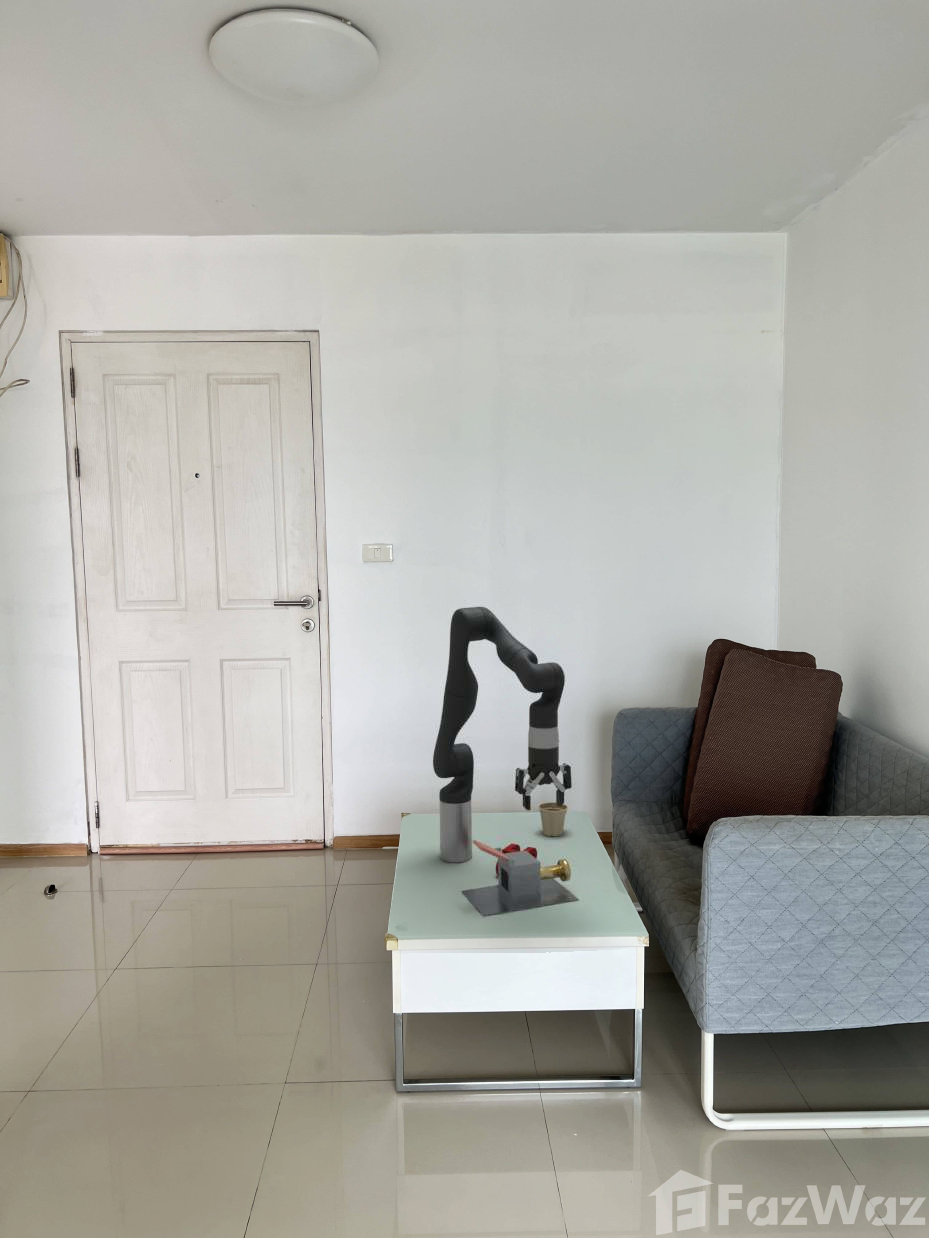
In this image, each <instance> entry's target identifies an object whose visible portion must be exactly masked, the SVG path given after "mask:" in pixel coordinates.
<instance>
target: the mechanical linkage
mask: <svg viewBox="0 0 929 1238" xmlns="http://www.w3.org/2000/svg"><path fill="white" fill-rule="evenodd" d="M520 851H521V846H520V844H516V843H510V844H508V845H506V846H505V847H504V848H503V849H502V848H501V852H502V853H503V854H506V853H513V852H520ZM522 851H527V852H528V853H530V854H531V855H532V856H533V857H535V858H536V859H537V860H538V851H537V848H536V847H532V846H527V847H526V848H524V849H523V850H522ZM495 874H496V875H497V876H498V860H497V861H496V865H495Z"/></svg>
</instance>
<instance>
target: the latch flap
mask: <svg viewBox="0 0 929 1238" xmlns="http://www.w3.org/2000/svg"><path fill="white" fill-rule="evenodd" d="M472 844H473V845H474V846H476V847H477V848H478V849H479V850H480V851H482V852H484V853H487V854H488V855H491V856H493V857H495V858H497V859H498V858H499V859H501V860H504V861H506V862H508V859H509V858H508V857H507V856H506V855H505V854H503V853H502V850H501V851H498V850H496V849H495V848H493V847H491V846H489V845H487V844H485V843H482V842H481V841H478V840H476V839H472Z"/></svg>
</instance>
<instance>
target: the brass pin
mask: <svg viewBox="0 0 929 1238" xmlns="http://www.w3.org/2000/svg"><path fill="white" fill-rule="evenodd" d="M571 871H572V870H571V866H570V864H569V862H568V860H567V859H566V858H562V859H558V860H557V864H553V865H548V866H541V880H546V879H553V878H554V879H558V878H559V880H560V881H561V882H569V881H570V879H571V875H572V872H571Z"/></svg>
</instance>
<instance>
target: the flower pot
mask: <svg viewBox="0 0 929 1238" xmlns="http://www.w3.org/2000/svg"><path fill="white" fill-rule="evenodd" d="M537 808H538V810H539V814H540V819H541V828H542V834H544V835H545V836H548V837H550V836H553V837H560V836H562V835H563V834H564V829H565V828H564V827H565V819H566V815H567V811H568V809H569V805H567V804H565V803H564V804H562V806H560V807H559V806H558V805H557V804H556V801H555V802H554V801H549V802H548V801H547V802H542V803H540V804H538V805H537Z"/></svg>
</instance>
